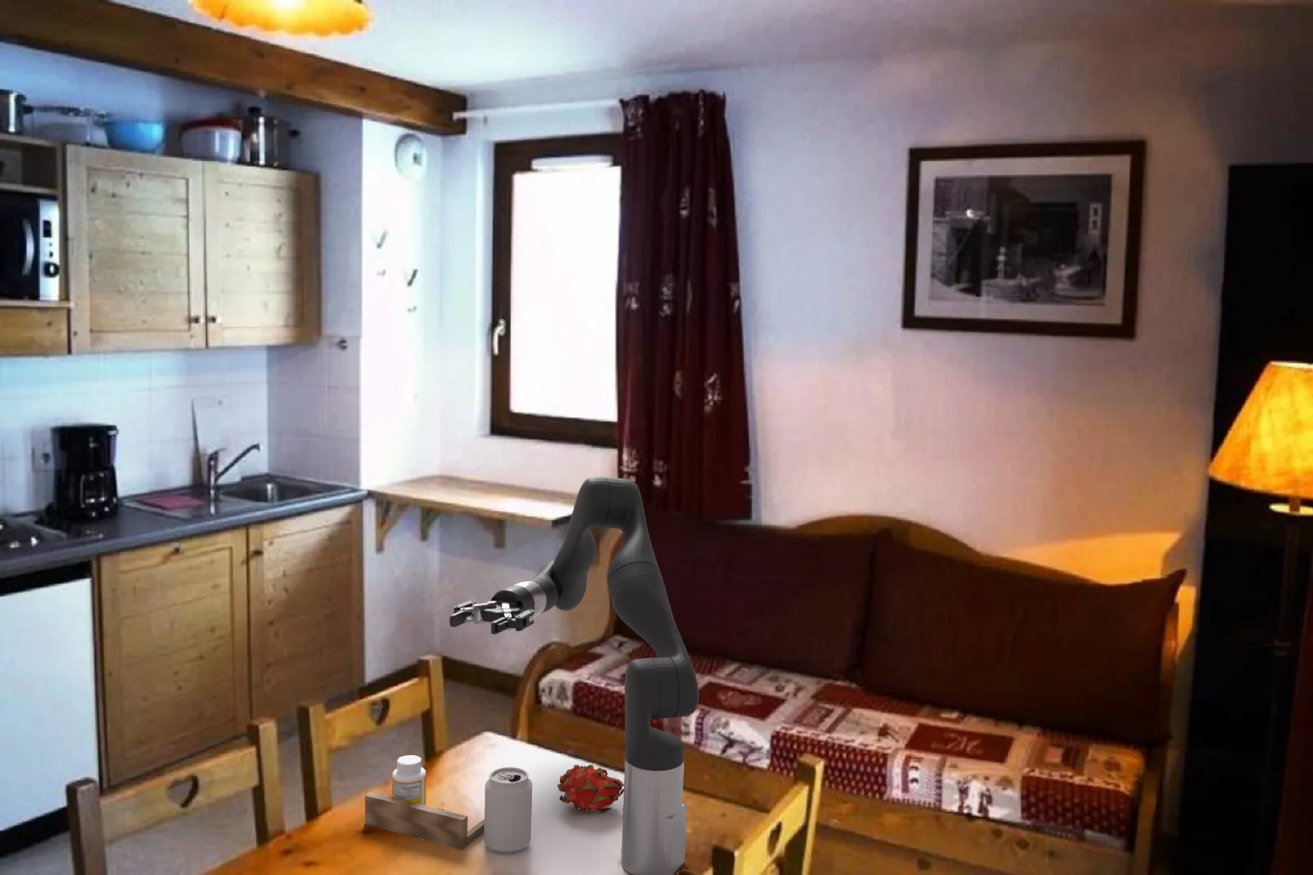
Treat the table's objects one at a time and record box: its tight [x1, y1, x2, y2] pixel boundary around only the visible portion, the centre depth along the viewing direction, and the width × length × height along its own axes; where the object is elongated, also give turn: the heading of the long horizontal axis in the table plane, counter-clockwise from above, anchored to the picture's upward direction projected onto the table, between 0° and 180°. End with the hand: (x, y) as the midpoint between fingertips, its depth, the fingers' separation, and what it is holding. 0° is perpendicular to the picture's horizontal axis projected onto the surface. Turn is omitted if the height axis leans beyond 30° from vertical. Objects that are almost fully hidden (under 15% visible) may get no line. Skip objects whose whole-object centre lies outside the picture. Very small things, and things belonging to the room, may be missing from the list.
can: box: [483, 766, 533, 855], centre depth 177 cm, size 8×8×12 cm
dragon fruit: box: [557, 764, 624, 815], centre depth 191 cm, size 8×8×12 cm
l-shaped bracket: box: [364, 791, 484, 851], centre depth 182 cm, size 19×8×5 cm, turn 67°
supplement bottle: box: [391, 754, 427, 806], centre depth 185 cm, size 6×6×10 cm
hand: (472, 625), depth 194 cm, fingers open, 8 cm apart
